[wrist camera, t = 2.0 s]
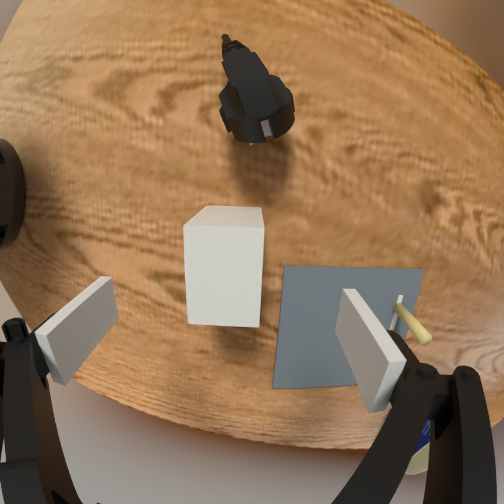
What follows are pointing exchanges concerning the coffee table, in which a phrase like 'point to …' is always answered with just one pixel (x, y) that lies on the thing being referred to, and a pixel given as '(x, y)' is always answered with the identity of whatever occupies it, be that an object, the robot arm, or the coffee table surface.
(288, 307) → the board
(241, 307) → the block
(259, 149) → the coffee table surface
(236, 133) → the power plug
